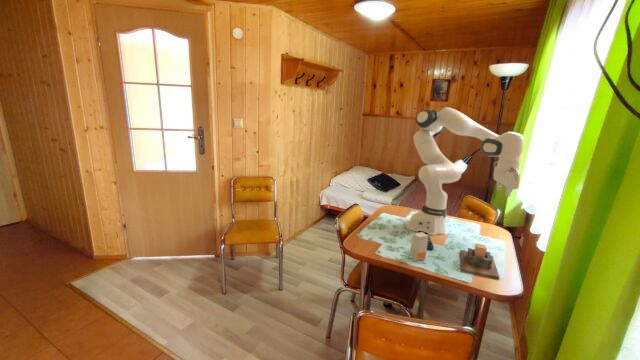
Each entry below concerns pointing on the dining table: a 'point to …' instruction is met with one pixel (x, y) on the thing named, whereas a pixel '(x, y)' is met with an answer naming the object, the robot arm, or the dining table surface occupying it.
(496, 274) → the socket holder
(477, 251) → the square peg
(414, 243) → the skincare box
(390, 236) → the dining table surface
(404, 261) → the dining table surface
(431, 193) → the robot arm
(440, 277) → the dining table surface
